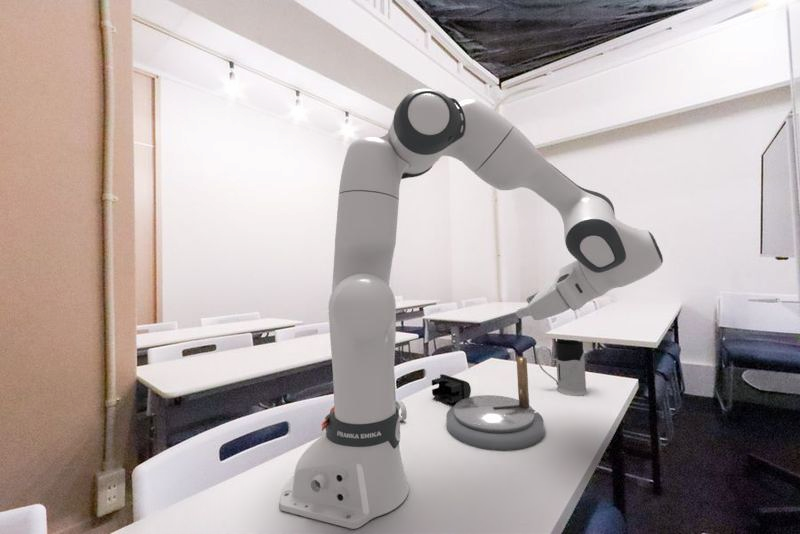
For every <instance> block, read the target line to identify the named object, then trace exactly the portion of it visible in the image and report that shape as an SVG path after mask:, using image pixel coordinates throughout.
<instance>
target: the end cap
mask: <svg viewBox="0 0 800 534" xmlns="http://www.w3.org/2000/svg"><path fill="white" fill-rule="evenodd" d="M435 385H436V386H437V385H438V387H436V388H433V389H431V394H432V396H433V397H432V399H434V400H433V401H436V402H438V401H439V403H440V402H441V403H440V404H443V405H445V404H446V405H445V406H448V405H449V406H448V407H450V406H451V407H450V408H452V407H453V406H455V404H456V403H457V402H459V401H461V400H463V399H465V398H469V397H471V394H472V392H471V391H472V387H471V385H470V383H469V382H468V381H466V380H463V379H460V378H457V377H453V376H451V375H446V374H443V373H442V374H440V375H439V377H438V378H435V379H432V380H431V386H435Z"/></svg>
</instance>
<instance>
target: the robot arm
mask: <svg viewBox="0 0 800 534" xmlns="http://www.w3.org/2000/svg"><path fill="white" fill-rule="evenodd" d="M387 131H388V132H387V133H386V134H385V135H383V136H379V137H377V136H376V137H375V136H363V137H360V138H357V139H356V140H354V141H352V142H351V144H350V145H349V147H348V148H347V151H346V155H345V157H344V161H343V165H342V170H341V175H340V180H339V190H338V198H337V199H338V200H337V212H336V223H335V224H336V225H335V234H334V235H335V239H334V257H333V272H332V285H331V294H330V297H329V301H328V324H329V337H330V351H331V354H330V355H331V363H332V364H331V366H332V382H333V383H332V385H333V403H334V404H333V407H331V409H330V410H329V411H330V412H329V413H328V414H327V415H326V416H325V418H324V421H322V423H321V426H322V427H321V431H324V430H325V432H324V433H323V435H321V436H320V437H319V438H317V440H315V441H314V442H313V443H311V445H310V446H308V447H307V448H306V450H305V451H304V452H303V453H302V454H301V456H300V458H299V459H298V461H297V463H296V466H295V469H294V472H293V473H294V474H293V476H292V477H291V478H290V480H289V481H288V482H287V483H286V485H285V487H284V488H283V490H282V491H281V495H280V498H279V509H280V511H283V512H286V513H289V514H294V515H297V516H298V515H299V516H301V517H305V518H309V519H313V520H316V521H321V522H325V523H327V524H328V523H329V524H333V525H335V526H336V525H337V526H339V527H344V528H347V529H352V530H354V529H358V528H360V527H362V526H363V525H365V524H367V523H368V522H369V521H370V520H372V519H374V518H377V517H379V516H382V515H385V514H387V513H390V512H392V511H393V510H395V509H397V508H398V507H400V505H402V503H404V501H405V500H406V499H407V497H408V495H409V492H410V485H409V481H408V479H407V475H406V473H405V468H404V466H403V465H404V464H403V460H402V455H401V450H400V449H401V448H400V441H401V421H400V418H399V415H400V411H399V412H398V408H397V407H396V401H397V400H396V381H395V380H396V379H395V378H396V377H395V375H396V374H395V356H396V333H397V332H396V331H397V325H396V324H397V309H396V308H397V307H396V305H397V304H396V303H397V302H396V297H395V295H394V292H393V290H392V288H391V287H390V286H389V285H390V279H391V271H392V266H393V259H394V254H395V248H396V241H397V229H398V217H399V216H398V214H399V201H400V185H401V180H404V179H408V178H409V179H411V178H416V177H420V176H423V175H424V174H426V173H427V172H429V171H430V170H431V169H432V168H433V166H435V164H436V163H437V162H438V161H439V160H440V159H441V158H442V157H443V156H444V157H445V156H446V157H451V158H453V159H456V160H458V161H460V162H462V163H463V165H465V167H467V169H469V170H470V171H471V172H472V173H473V174H475V175H476V176H477V177H478V178H479V179H480V180H482V181H483V182H485V183H486V184H488V185H489V186H491V187H493V188H495V189H497V190H499V191H512V190H515V189H518V188H525V189H528V190H531V191H532V192H534V193H536V195H538V196H539V197H540V198H541V199H543V200H544V201H546V202H547V203H549V204H550V206H552V207H554V208H555V209H556V210H557V212H558V213H559V214H560V217H561V219H562V223H563V225H564V226H563V231H564V243H565V246H566V249H567V251H568V252H569V253H570V255H571V256H572V257H573V258H575V259H576V260H574V261H573V262H571V263H568V264H566V265H565V266H563V267H560V268H559V270H558V272H559V273H558V274H559V275H557V276H555V277H552V278H551V279H548V280H547V281H546V282H545V283H544V284H543V285H542V286H541V288H540V289H539V290H537V291H536V292H535V293H533V294H531V295H530V296H528V297H527V298H526V302H527V305H526V306H524V307H521V308H519V309H517V310H516V311H515V316H516V317H517V318H518V319H522V318H525V317H532V319H533V320H534V321H540V320H542V321H543V320H545V319H549V318H551V317H554V316H557V315H559V314H562V313H565V312H566V311H569V310H570V309H571V311H577V310H579V309H581V308H583V307H584V306H585V305H586V304H587V303H589V302H591V301H593V300H594V299H597V298H600V297H602V296H604V295H605V294H606V293H608V292H609V291H611V290H613V289H616V288H624V287H625V286H628V285H630V284H634V283H635V282H637V281H640V280H641V279H644V278H646V277H647V276H648V277H649V275H651V274H653V273H655V272H657V270H658V269H660V267H661V266H662V265H663V262H664V259H663V254H662V252H661V250H660V247H659V245H658V243H657V240H656V238H655V236H654V235H653V234H652V233H651V232H650V231H649V230H646V229H645V230H644V229H638V228H635V227H632V226H630V225H628V224H625V223H623V222H621V221H620V220H618V219H617V218H616V214H615V213H616V212H615V207H614V204H613V202H612V201H611V200H610V199H609V197H607V196H606V195H604V194H602V193H599V192H597V191H594V190H589V189H587V188H584V187H582V186H580V185H578V184H577V183H576V182H574V181H573V180H571V179H570V178H569V177H568V176H566V175H565V174H564V173H563V172H561V171H560V170H559V168H556V167H555V166H554V165H552V163H550V162H549V161H548V160H547V159H546V158H545V157H544V156H543V154H541V152H540V151H539V150H538V148H536V146H535V145H534V144H533V142H531V141H530V139H529V138H528V137H527V136H525V135H526V134H524V133H523V132H522V131H521V130H520V129H518V127H516V126H515V125H514V124H513V123H512V122H511V121H509V120H508V119H507V118H506V117H504V116H503V115H502V114H500V113H499V112H498V111H496V110H495V109H493V108H491V107H489V106H488V105H486V104H485V103H483V102H481V101H480V100H477V99H474V98H466V99H462V100H461V101H459V102H458V100H457V99H455V98H453V97H449V96H447V94H445V93H443V92H442V91H439V90H435V89H431V88H418V89H417V88H416V89H415V90H412V91H410V92H409V93H408V94H406V96H405V97H404V98H403V99H402V100H401V101H400V102H399V104H398V106H397V107H396V109H395V111H394V115H393V119H392V122H391V124H390V127H389V129H388V130H387Z"/></svg>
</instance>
